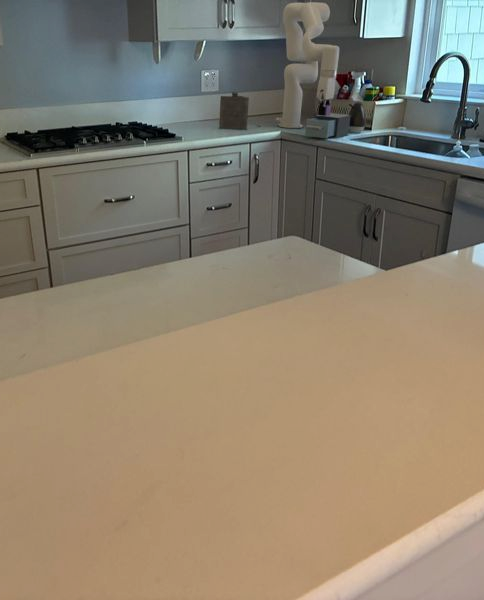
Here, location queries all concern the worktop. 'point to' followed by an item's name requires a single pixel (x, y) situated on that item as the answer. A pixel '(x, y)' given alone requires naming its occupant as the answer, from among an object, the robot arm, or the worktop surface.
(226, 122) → the flask
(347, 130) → the grey drawer box
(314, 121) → the sliding drawer
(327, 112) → the purple cube
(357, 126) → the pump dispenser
